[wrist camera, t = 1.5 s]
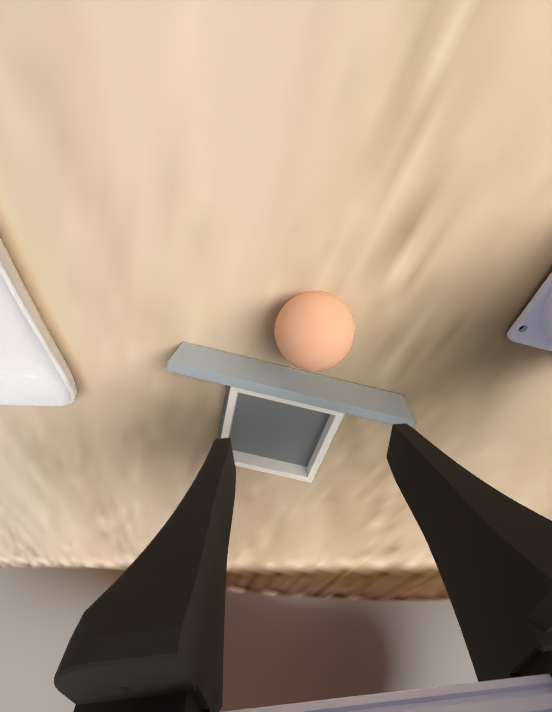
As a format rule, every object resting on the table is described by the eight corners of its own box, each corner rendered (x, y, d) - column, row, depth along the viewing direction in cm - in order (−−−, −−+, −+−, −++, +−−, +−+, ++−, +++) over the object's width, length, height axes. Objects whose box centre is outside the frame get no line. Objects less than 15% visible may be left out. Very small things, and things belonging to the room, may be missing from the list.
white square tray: (230, 368, 23) (226, 379, 22) (349, 396, 24) (352, 408, 22) (215, 450, 28) (211, 463, 27) (313, 472, 29) (314, 486, 27)
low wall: (183, 341, 22) (167, 361, 20) (403, 395, 23) (416, 421, 20) (182, 350, 23) (166, 371, 20) (399, 402, 23) (411, 429, 21)
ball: (287, 272, 19) (282, 297, 15) (359, 291, 19) (376, 321, 15) (270, 338, 21) (262, 375, 17) (334, 354, 22) (342, 395, 17)
